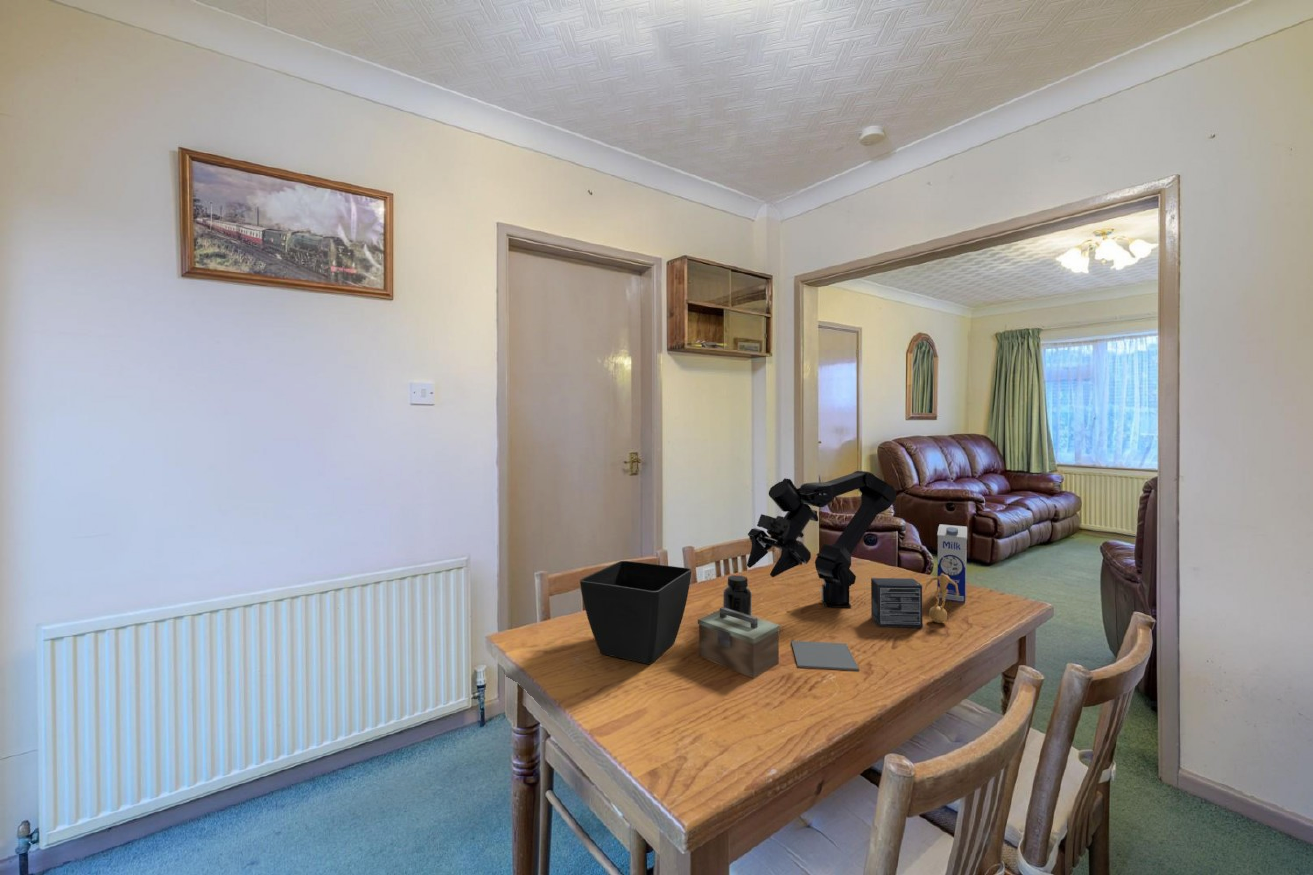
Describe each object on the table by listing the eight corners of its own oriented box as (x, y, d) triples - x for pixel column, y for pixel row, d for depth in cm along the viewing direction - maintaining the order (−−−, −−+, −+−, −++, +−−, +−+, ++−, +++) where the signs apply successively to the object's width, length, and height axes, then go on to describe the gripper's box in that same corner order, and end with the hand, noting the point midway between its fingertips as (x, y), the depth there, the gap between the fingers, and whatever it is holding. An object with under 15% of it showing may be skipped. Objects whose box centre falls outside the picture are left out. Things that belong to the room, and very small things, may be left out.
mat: (846, 645, 118) (846, 643, 118) (859, 670, 106) (859, 668, 106) (791, 642, 120) (791, 640, 120) (797, 667, 108) (797, 665, 108)
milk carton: (966, 595, 150) (967, 525, 149) (965, 603, 144) (966, 530, 143) (938, 591, 154) (939, 523, 153) (936, 598, 148) (937, 527, 147)
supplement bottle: (734, 634, 125) (733, 583, 124) (717, 624, 131) (717, 576, 131) (757, 628, 128) (757, 579, 128) (740, 619, 134) (740, 572, 134)
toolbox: (696, 656, 113) (696, 610, 113) (724, 642, 120) (724, 599, 120) (753, 679, 103) (753, 629, 103) (780, 663, 110) (780, 615, 110)
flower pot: (622, 625, 130) (621, 558, 130) (693, 639, 122) (693, 567, 121) (578, 657, 113) (577, 579, 113) (657, 675, 105) (657, 592, 104)
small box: (913, 618, 134) (913, 577, 133) (923, 628, 127) (924, 585, 127) (870, 617, 135) (870, 576, 134) (878, 627, 128) (878, 584, 128)
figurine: (917, 618, 133) (917, 571, 133) (930, 613, 137) (930, 567, 136) (950, 629, 126) (951, 580, 126) (963, 624, 130) (964, 575, 129)
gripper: (753, 498, 142) (719, 543, 138) (802, 508, 126) (765, 560, 121) (776, 524, 146) (743, 569, 141) (826, 537, 129) (791, 589, 125)
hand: (759, 571), depth 132 cm, fingers open, 9 cm apart
